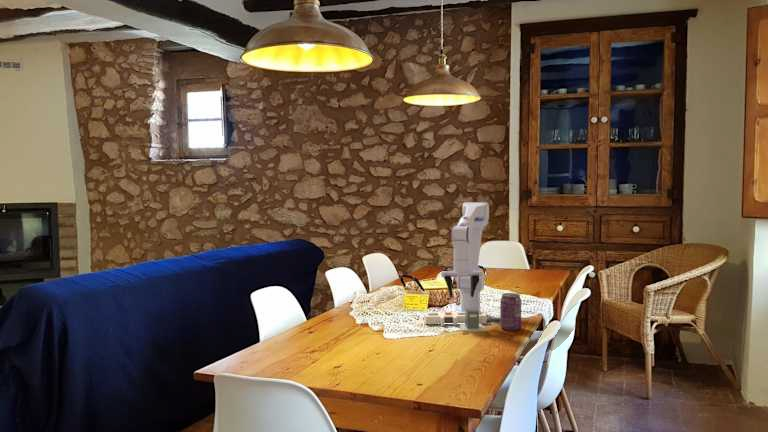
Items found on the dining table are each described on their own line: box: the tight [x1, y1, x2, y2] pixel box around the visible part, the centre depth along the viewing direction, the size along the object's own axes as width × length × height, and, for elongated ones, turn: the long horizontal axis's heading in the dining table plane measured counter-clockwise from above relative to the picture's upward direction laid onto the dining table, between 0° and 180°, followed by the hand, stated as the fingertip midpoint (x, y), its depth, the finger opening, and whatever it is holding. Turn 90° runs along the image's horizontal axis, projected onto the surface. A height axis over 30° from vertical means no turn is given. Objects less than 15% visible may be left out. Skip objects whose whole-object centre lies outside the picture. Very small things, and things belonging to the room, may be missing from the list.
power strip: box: [423, 311, 500, 326], centre depth 220 cm, size 8×28×4 cm, turn 93°
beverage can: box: [499, 292, 522, 331], centre depth 212 cm, size 7×7×12 cm
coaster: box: [458, 324, 486, 333], centre depth 213 cm, size 8×8×1 cm
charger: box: [465, 309, 479, 329], centre depth 214 cm, size 8×4×6 cm, turn 3°
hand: (461, 296), depth 219 cm, fingers open, 7 cm apart
